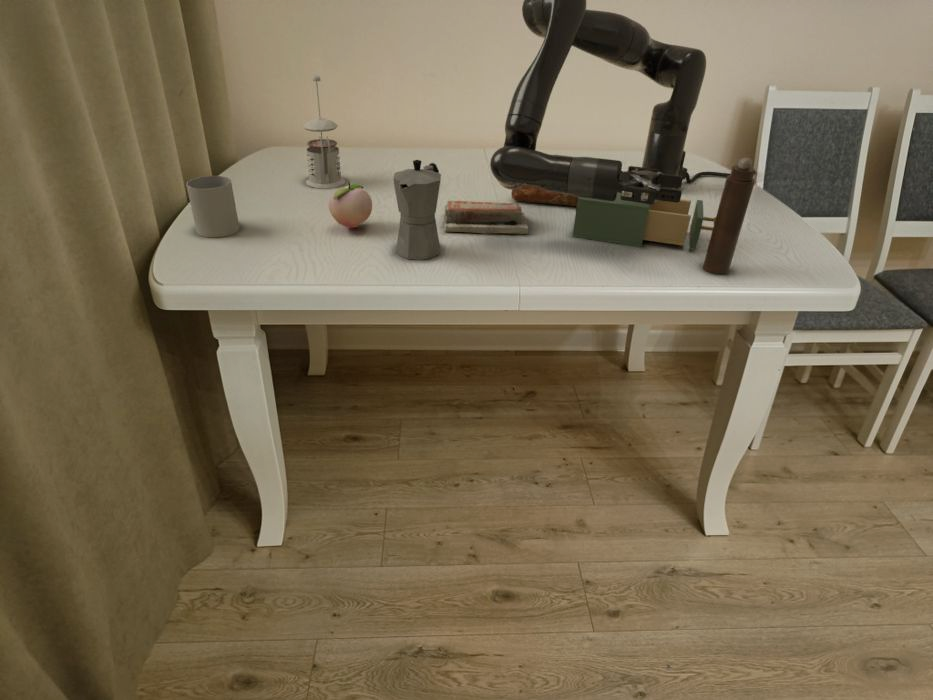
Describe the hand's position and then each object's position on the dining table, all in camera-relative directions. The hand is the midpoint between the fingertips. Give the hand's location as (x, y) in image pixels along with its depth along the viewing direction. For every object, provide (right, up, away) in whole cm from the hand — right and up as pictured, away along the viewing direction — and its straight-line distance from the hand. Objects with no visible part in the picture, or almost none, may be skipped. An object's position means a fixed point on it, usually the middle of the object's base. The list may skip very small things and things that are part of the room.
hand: (681, 189), depth 115 cm
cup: (-92, -5, +14) cm, 93 cm away
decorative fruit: (-64, -4, +17) cm, 66 cm away
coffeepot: (-49, -10, +9) cm, 51 cm away
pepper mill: (+9, -14, +6) cm, 18 cm away
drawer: (+4, -6, +17) cm, 18 cm away
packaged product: (-36, -3, +21) cm, 42 cm away
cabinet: (-9, -4, +20) cm, 23 cm away
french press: (-75, +12, +41) cm, 87 cm away
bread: (-20, +5, +34) cm, 39 cm away
